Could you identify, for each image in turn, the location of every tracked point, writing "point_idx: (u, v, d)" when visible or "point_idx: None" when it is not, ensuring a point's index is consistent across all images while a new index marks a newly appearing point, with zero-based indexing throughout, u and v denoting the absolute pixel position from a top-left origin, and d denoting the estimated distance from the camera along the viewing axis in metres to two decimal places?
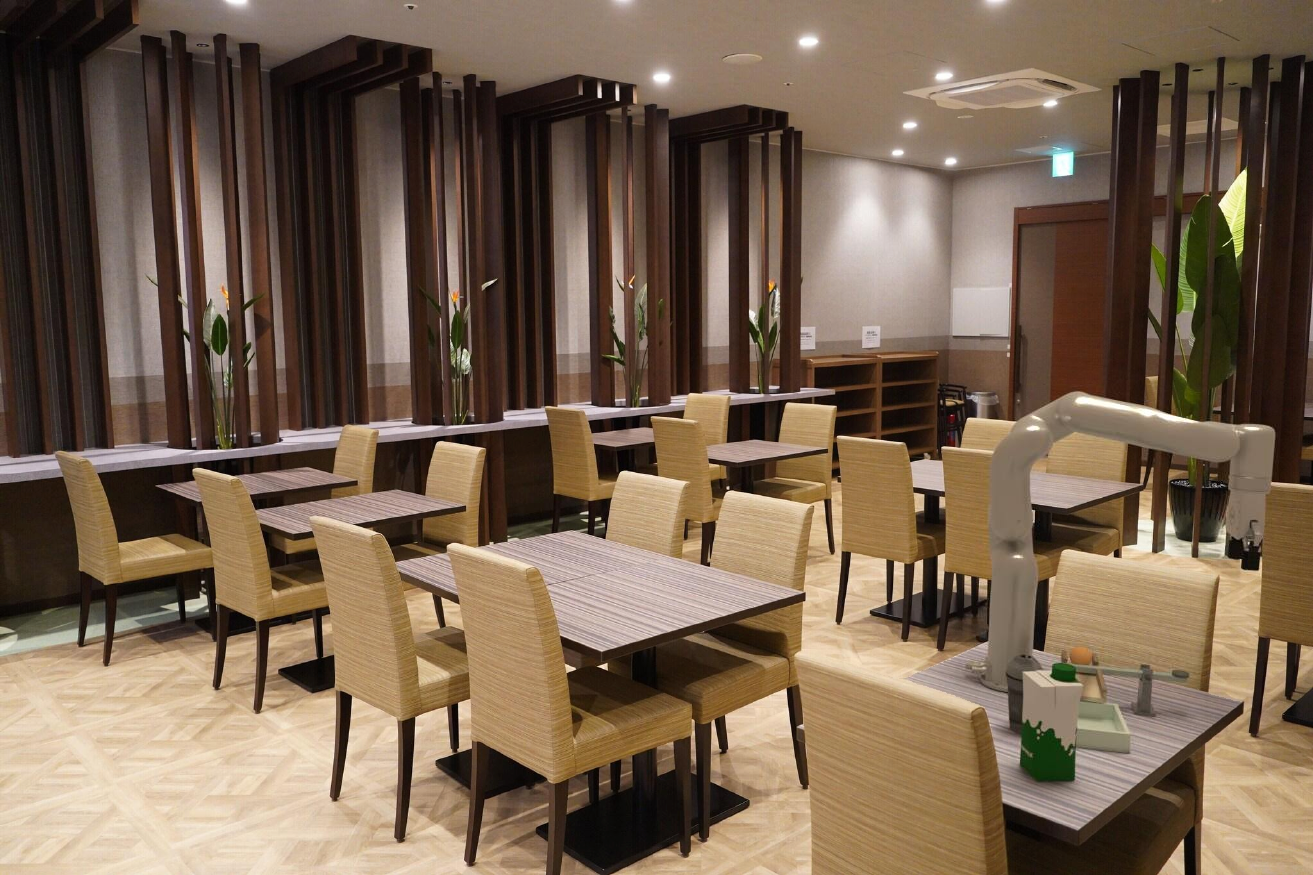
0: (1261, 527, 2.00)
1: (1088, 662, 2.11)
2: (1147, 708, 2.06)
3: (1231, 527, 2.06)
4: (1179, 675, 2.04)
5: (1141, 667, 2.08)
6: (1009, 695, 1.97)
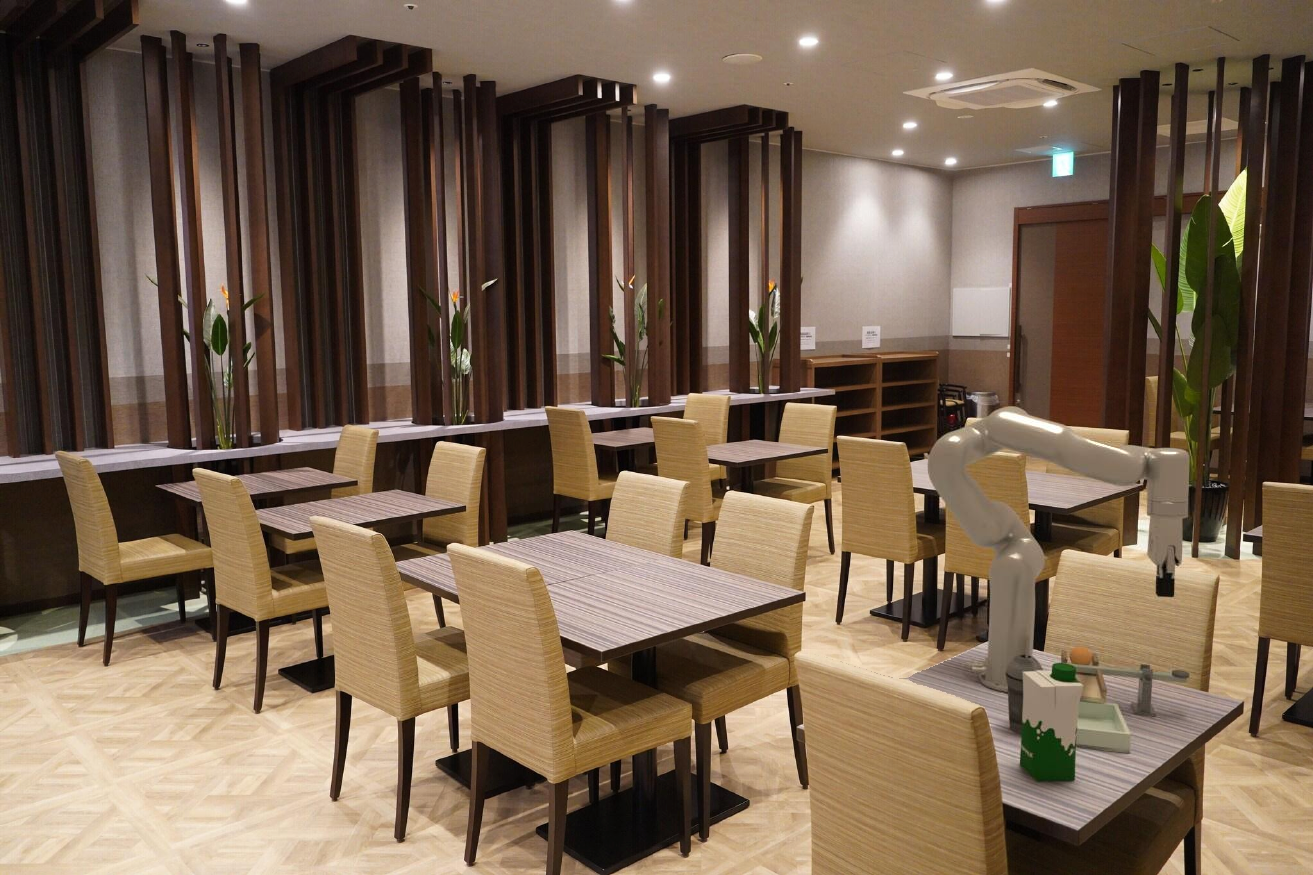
0: (1179, 552, 1.97)
1: (1088, 662, 2.11)
2: (1147, 708, 2.06)
3: (1151, 553, 2.03)
4: (1179, 675, 2.04)
5: (1141, 667, 2.08)
6: (1009, 695, 1.97)
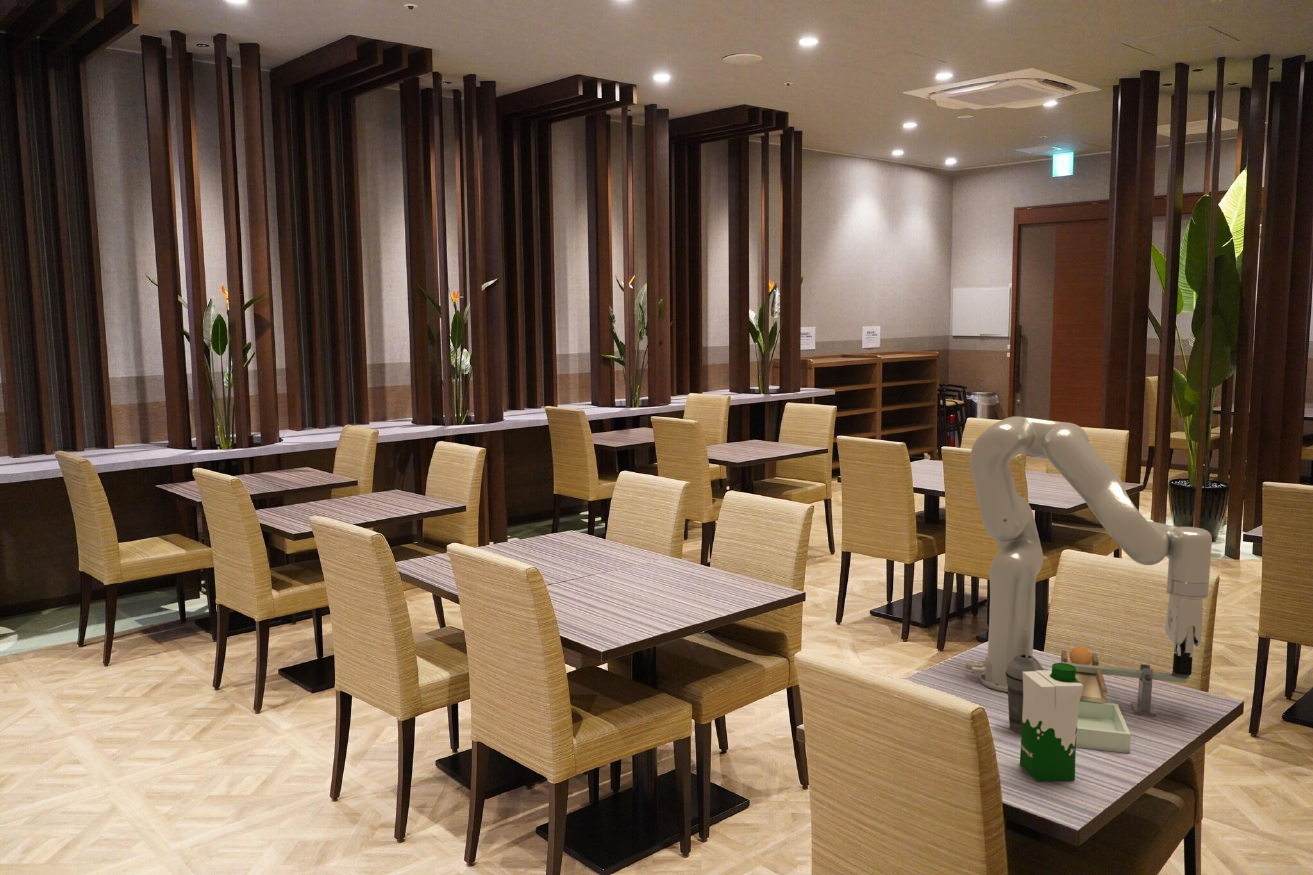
0: (1198, 633, 1.98)
1: (1088, 662, 2.11)
2: (1147, 708, 2.06)
3: (1170, 630, 2.04)
4: (1179, 676, 2.04)
5: (1141, 667, 2.08)
6: (1009, 695, 1.97)
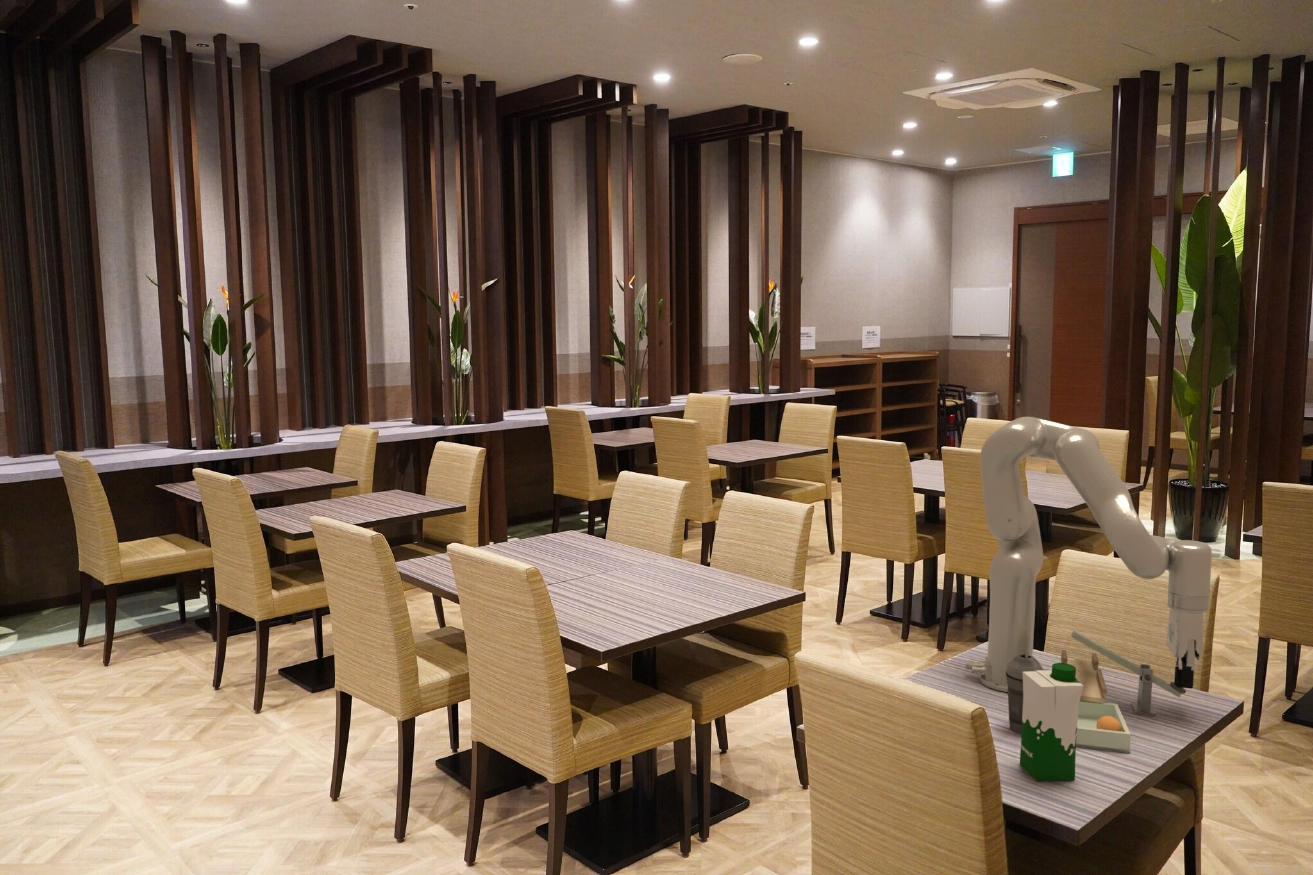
0: (1199, 647, 1.99)
1: None
2: (1147, 708, 2.06)
3: (1171, 644, 2.04)
4: (1177, 688, 2.04)
5: (1141, 667, 2.08)
6: (1009, 695, 1.97)
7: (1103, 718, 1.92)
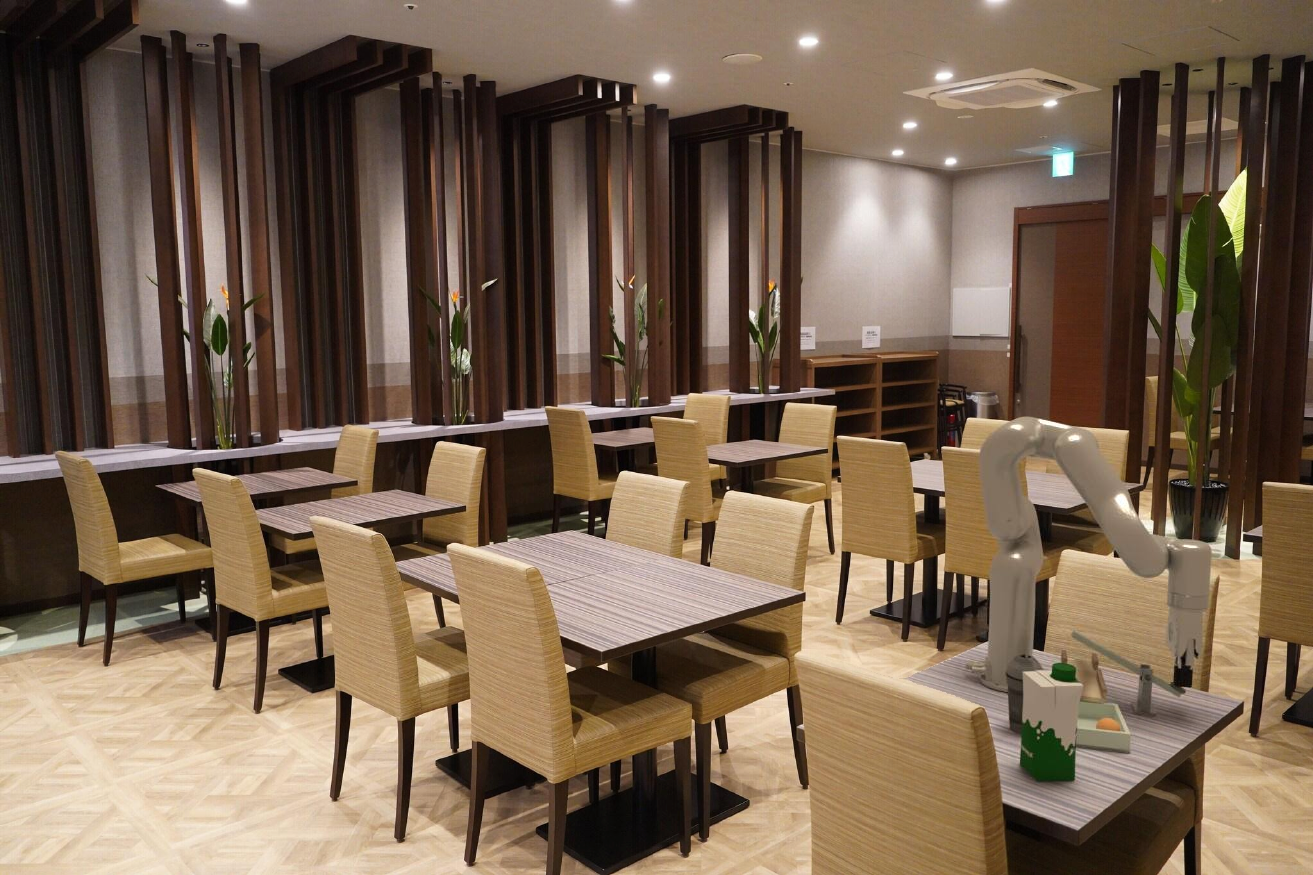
0: (1198, 646, 1.99)
1: (1110, 718, 1.91)
2: (1147, 708, 2.06)
3: (1170, 643, 2.04)
4: (1177, 688, 2.04)
5: (1141, 667, 2.08)
6: (1009, 695, 1.97)
7: (1102, 724, 1.91)
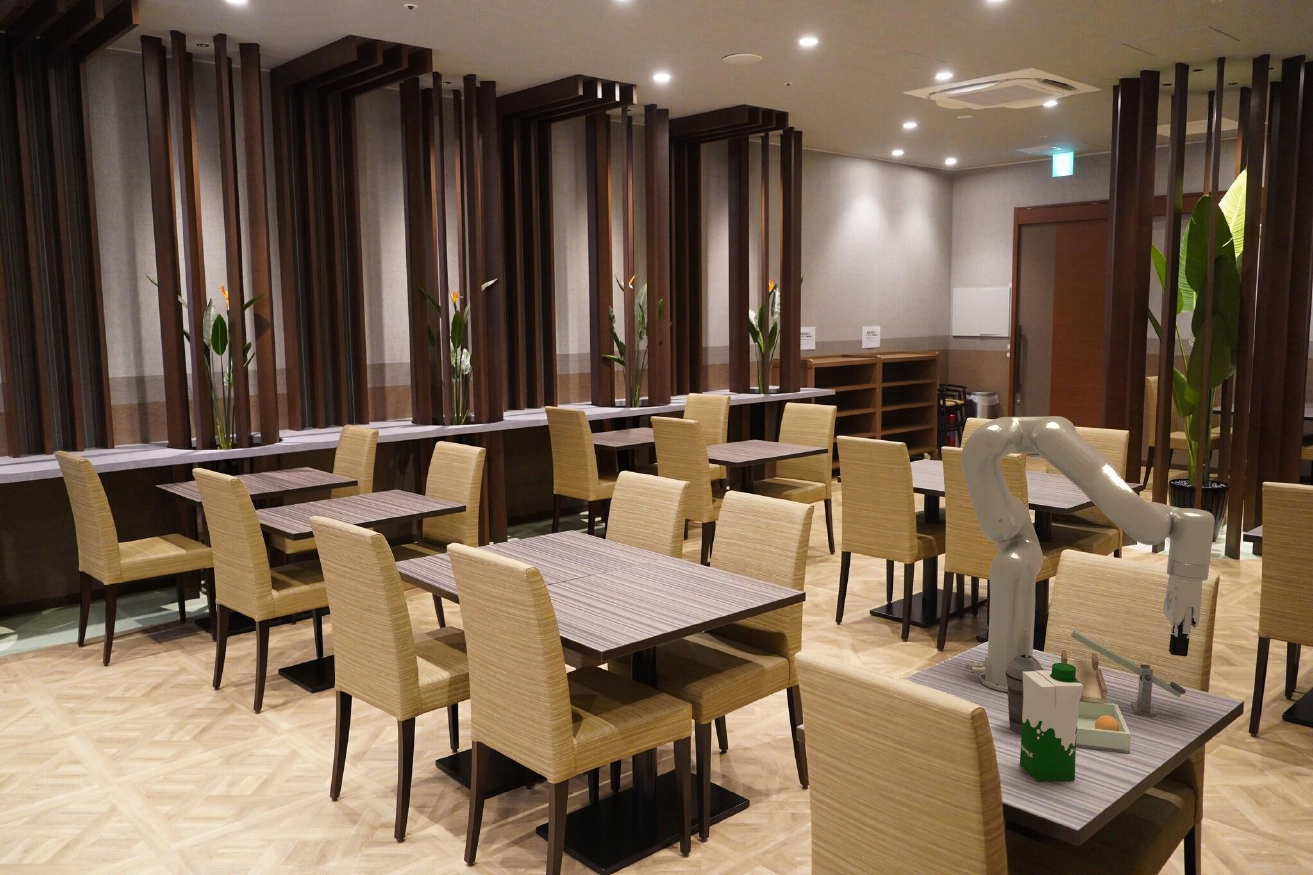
0: (1196, 614, 1.98)
1: None
2: (1147, 708, 2.06)
3: (1168, 611, 2.04)
4: (1177, 688, 2.04)
5: (1141, 667, 2.08)
6: (1009, 695, 1.97)
7: (1100, 718, 1.93)
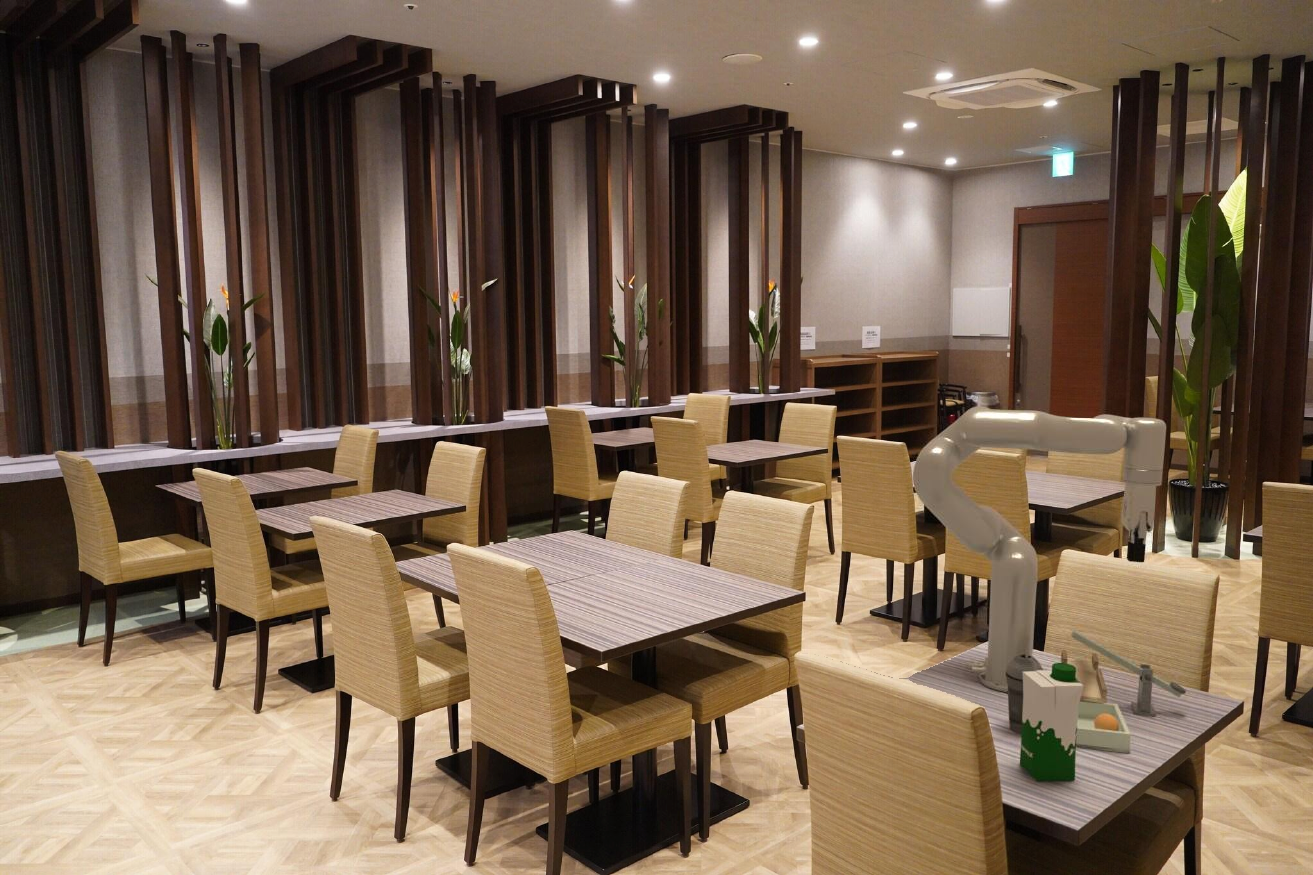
0: (1151, 519, 2.04)
1: None
2: (1147, 708, 2.06)
3: (1124, 519, 2.09)
4: (1177, 688, 2.04)
5: (1141, 667, 2.08)
6: (1009, 695, 1.97)
7: None
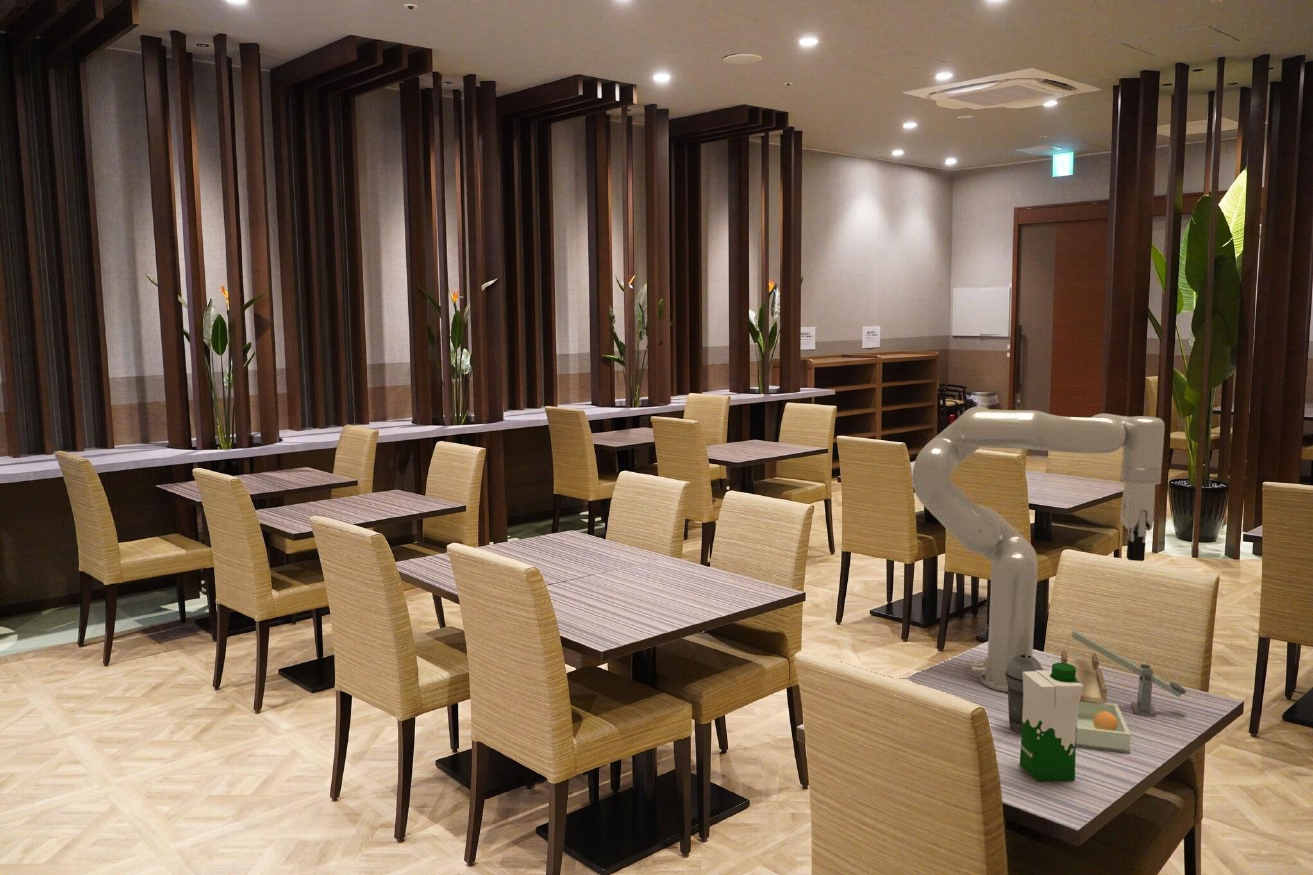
0: (1150, 517, 2.04)
1: None
2: (1147, 708, 2.06)
3: (1124, 517, 2.09)
4: (1177, 688, 2.04)
5: (1141, 667, 2.08)
6: (1009, 695, 1.97)
7: None
